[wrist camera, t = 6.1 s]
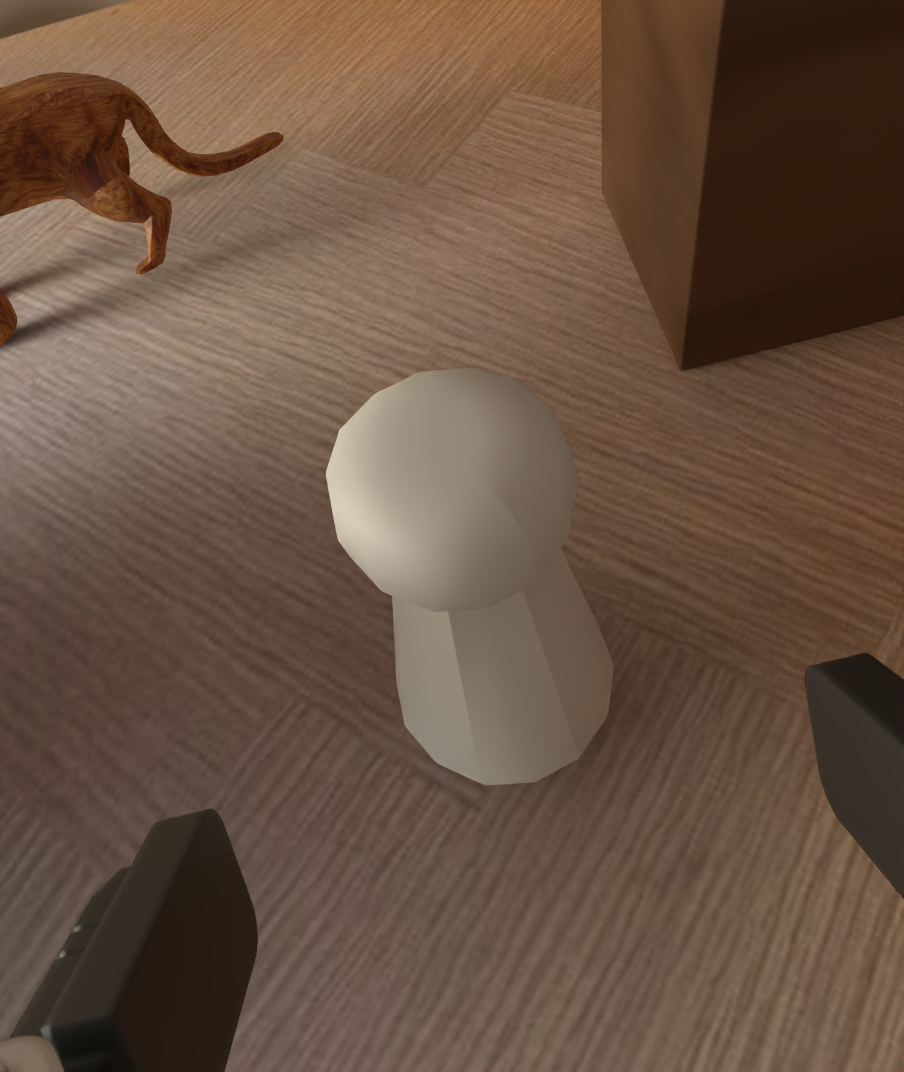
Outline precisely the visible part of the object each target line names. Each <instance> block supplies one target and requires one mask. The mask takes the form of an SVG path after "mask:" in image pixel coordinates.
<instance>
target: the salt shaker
mask: <svg viewBox="0 0 904 1072" xmlns="http://www.w3.org/2000/svg"><path fill="white" fill-rule="evenodd" d="M326 478H327V484H328V490H329V495H330V501H331V506H332V512H333V517H334V522H335V528H336V533H337V538H338V541H339V542H340V544H341V545H342V546H343V548H344V549H345V551H346V552H347V553H348V555H349V556H350V557H351V558H352V560H353V561H354V562H355V563H356V564H357V565H358V566H359V567H360V568H361V569H362V570H363V572H364V573H365V574H366V575H367V576H368V577H369V578H370V579H371V580H372V581H373V582H374V584H375V585H376V586H377V587H378V588H379V589H380V590H381V591H382V592H384V593H387V594H389V595H392V602H393V622H394V643H395V665H396V682H397V688H398V693H399V698H400V703H401V709H402V714H403V719H404V725H405V727H406V728H407V729H408V730H409V732H410V733H411V734H412V735H413V736H414V737H415V739H416V740H417V741H418V742H419V743H420V744H421V746H422V747H423V748H424V749H425V750H426V751H427V753H428V754H429V755H430V756H431V757H432V758H433V760H434V761H435V762H436V763H438V764H440V765H442V766H444V767H446V768H448V769H450V770H453V771H455V772H457V773H459V774H461V775H463V776H466V777H468V778H470V779H472V780H474V781H477V782H479V783H481V784H483V785H501V784H517V783H534V782H537V781H539V780H540V779H542V778H544V777H546V776H548V775H550V774H552V773H553V772H555V771H557V770H559V769H561V768H563V767H565V766H566V765H568V764H570V763H572V762H574V761H576V760H577V759H579V757H580V756H581V754H582V753H583V751H584V750H585V748H586V747H587V745H588V744H589V743H590V741H591V740H592V738H593V737H594V735H595V734H596V732H597V731H598V729H599V728H600V727H601V725H602V724H603V722H604V721H605V719H606V717H607V715H608V710H609V703H610V695H611V688H612V680H613V673H614V664H613V662H612V659H611V656H610V653H609V651H608V648H607V645H606V642H605V640H604V637H603V634H602V631H601V629H600V626H599V623H598V621H597V619H596V617H595V616H594V614H593V612H592V610H591V608H590V606H589V604H588V602H587V600H586V598H585V596H584V594H583V592H582V590H581V588H580V586H579V585H578V583H577V581H576V579H575V577H574V575H573V573H572V571H571V569H570V566H569V564H568V562H567V560H566V557H565V555H564V553H563V551H562V549H561V548H562V547H563V545H564V544H565V542H566V541H567V539H568V537H569V531H570V526H571V520H572V515H573V510H574V504H575V499H576V493H577V469H576V466H575V463H574V461H573V458H572V455H571V453H570V450H569V447H568V445H567V443H566V440H565V438H564V435H563V433H562V430H561V428H560V425H559V423H558V420H557V418H556V415H555V413H554V410H553V408H552V407H551V406H550V405H548V404H547V403H546V402H545V401H544V400H542V399H541V398H540V397H539V396H538V395H536V394H535V393H534V392H533V391H532V390H530V389H529V388H528V387H527V386H526V385H524V384H523V383H522V382H521V381H520V380H518V379H517V378H513V377H509V376H505V375H501V374H497V373H493V372H489V371H485V370H481V369H477V368H473V367H463V368H453V369H443V370H433V371H423V372H418V373H416V374H414V375H412V376H410V377H408V378H406V379H404V380H402V381H400V382H398V383H396V384H394V385H392V386H390V387H388V388H386V389H384V390H382V391H380V392H378V393H376V394H374V395H373V396H372V397H371V398H370V399H369V400H368V401H367V402H366V403H365V404H364V405H363V406H362V407H361V408H360V409H359V410H358V411H357V412H356V413H355V414H354V415H353V417H352V418H351V419H350V420H349V421H348V422H347V423H346V424H345V425H344V426H343V427H342V428H341V429H340V430H339V433H338V437H337V440H336V443H335V446H334V449H333V452H332V455H331V458H330V461H329V465H328V468H327V471H326Z"/></svg>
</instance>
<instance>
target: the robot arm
mask: <svg viewBox="0 0 904 1072" xmlns="http://www.w3.org/2000/svg"><path fill="white" fill-rule="evenodd" d="M805 687H806V693H807V700H808V706H809V712H810V718H811V725H812V731H813V737H814V744H815V750H816V756H817V762H818V769H819V774H820V778H821V782H822V785H823V788H824V791H825V794H826V797H827V799H828V801H829V803H830V806H831V808H832V810H833V811H834V813H835V815H836V816H837V818H838V819H839V821H840V822H841V823H842V825H843V826H844V827H845V828H846V830H847V831H848V832H849V833H850V834H851V836H852V837H853V838H854V839H855V840H856V842H857V843H858V844H859V845H860V847H861V848H862V849H863V850H864V851H865V853H866V854H867V855H868V856H869V857H870V859H871V860H872V861H873V862H874V864H875V865H876V866H877V867H878V868H879V870H880V871H881V872H882V873H883V874H884V876H885V877H886V878H887V879H888V881H889V882H890V883H891V884H892V885H893V887H894V888H895V889H896V890H897V891H898V893H899V894H900V895H901V896H902V898H903V899H904V679H902V678H901V677H900V676H898V675H897V674H896V673H894V672H893V671H892V670H890V669H889V668H888V667H886V666H885V665H884V664H882V663H881V662H880V661H878V660H877V659H876V658H874V657H873V656H871V655H870V654H868V653H861V654H857V655H853V656H849V657H845V658H841V659H836V660H832V661H828V662H824V663H820V664H816V665H811V666H809V667H807V669H806V672H805ZM74 930H75V932H74V933H71V934H70V935H69V937H68V939H67V940H66V942H65V944H64V945H63V947H62V949H61V951H60V952H59V954H60V958H59V959H55V961H54V962H53V964H52V966H51V968H50V969H49V971H48V973H47V974H46V976H45V978H44V980H43V981H42V983H41V985H40V986H39V988H38V990H37V991H36V993H35V995H34V997H33V998H32V1000H31V1002H30V1003H29V1005H28V1007H27V1008H26V1010H25V1012H24V1014H23V1015H22V1017H21V1019H20V1020H19V1022H18V1024H17V1025H16V1027H15V1029H14V1031H13V1032H12V1034H11V1036H10V1037H9V1039H7V1040H3V1041H1V1042H0V1072H225V1068H226V1064H227V1061H228V1057H229V1053H230V1050H231V1046H232V1042H233V1039H234V1035H235V1031H236V1028H237V1024H238V1020H239V1017H240V1013H241V1009H242V1006H243V1002H244V998H245V995H246V991H247V988H248V984H249V980H250V977H251V973H252V969H253V966H254V962H255V958H256V954H257V944H258V933H257V922H256V916H255V911H254V907H253V904H252V901H251V898H250V895H249V893H248V890H247V887H246V884H245V881H244V879H243V876H242V873H241V870H240V867H239V865H238V862H237V859H236V856H235V853H234V851H233V848H232V845H231V842H230V839H229V837H228V834H227V831H226V828H225V826H224V823H223V821H222V819H221V817H220V815H219V814H218V813H217V812H216V811H215V810H213V809H207V810H203V811H199V812H194V813H190V814H186V815H182V816H178V817H174V818H169V819H165V820H161V821H158V822H156V823H155V824H154V825H153V827H152V828H151V830H150V832H149V834H148V835H147V837H146V839H145V841H144V843H143V845H142V846H141V848H140V850H139V852H138V854H137V855H136V857H135V859H134V861H133V863H132V865H131V866H129V867H125V868H122V869H121V870H120V871H118V872H117V873H116V874H115V875H114V876H113V877H112V878H111V879H110V880H109V881H108V882H107V883H106V884H105V885H104V886H103V887H102V888H101V889H100V890H99V891H98V892H97V893H96V894H95V895H94V896H93V897H92V898H91V900H90V901H89V903H88V905H87V906H86V908H85V910H84V911H83V913H82V915H81V917H80V918H79V920H78V922H77V923H76V925H75V927H74Z"/></svg>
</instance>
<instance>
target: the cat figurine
mask: <svg viewBox="0 0 904 1072" xmlns="http://www.w3.org/2000/svg"><path fill="white" fill-rule="evenodd" d="M126 119H128V120H130V121H131V123H132V125H133V127H134V129H135V130H136V132H137V133H138V135H139V137H140V138H141V140H142V141H143V142H144V143H145V145H146V146H147V147H148V148H149V149H150V150H151V152H152V153H153V154H155V155H156V156H157V157H158V158H159V159H161V160H162V161H163V162H165V163H166V164H168V165H170V166H171V167H173V168H175V169H176V170H179V171H181V172H183V173H186V174H189V175H195V176H213V175H219V174H222V173H226V172H229V171H232V170H235V169H237V168H239V167H241V166H243V165H245V164H247V163H249V162H251V161H252V160H254V159H256V158H258V157H259V156H261V155H263V154H265V153H267V152H268V151H270V150H272V149H274V148H275V147H277V146H278V145H280V144H281V142H282V141H283V135H281V134H280V133H278V132H272V133H269V134H265V135H263V136H261V137H258V138H256V139H254V140H252V141H250V142H248V143H246V144H244V145H242V146H240V147H238V148H235V149H233V150H230V151H227V152H222V153H216V154H194V153H189V152H187V151H186V150H184V149H182V148H180V147H179V146H178V145H177V144H176V143H174V142H173V141H172V140H171V139H170V138H169V137H168V135H167V134H166V133H165V132H164V130H163V129H162V127H161V125H160V123H159V122H158V120H157V119H156V117H155V115H154V114H153V112H152V111H151V109H150V108H149V106H148V105H147V104H146V103H145V102H144V101H143V100H142V99H141V98H140V97H139V96H138V95H137V94H136V93H135V92H134V91H132V90H131V89H129V88H127V87H126V86H124V85H122V84H121V83H119V82H117V81H114V80H110V79H107V78H104V77H100V76H96V75H88V74H81V73H60V72H59V73H50V74H42V75H39V76H36V77H32V78H29V79H26V80H23V81H21V82H18V83H15V84H12V85H9V86H6V87H3V88H0V217H1V216H4V215H7V214H10V213H13V212H16V211H19V210H22V209H25V208H28V207H31V206H34V205H37V204H41V203H44V202H47V201H51V200H54V199H72V200H75V201H76V202H77V203H79V204H80V205H81V206H83V207H85V208H87V209H89V210H90V211H92V212H94V213H96V214H98V215H100V216H103V217H106V218H109V219H111V220H114V221H121V222H134V223H143V225H144V226H145V228H146V230H147V251H148V255H149V257H147V258H146V259H145V260H144V261H142V262H141V263H140V264H139V265H138V267H137V269H136V273H137V274H143V273H145V272H148V271H150V270H152V269H154V268H156V267H158V266H159V265H161V264H162V263H163V261H164V258H165V249H166V243H167V238H168V233H169V227H170V221H171V213H172V208H171V202H170V201H169V200H168V199H167V198H165V197H162V196H158V195H156V194H154V193H152V192H150V191H148V190H147V189H145V188H143V187H142V186H140V185H138V184H137V183H136V182H135V181H133V180H132V179H131V178H130V177H129V174H130V165H129V153H128V147H127V144H126V142H125V139H124V138H123V137H122V133H123V129H124V124H125V120H126ZM16 325H17V316H16V313H15V311H14V309H13V307H12V305H11V303H10V301H9V300H8V298H7V297H6V296H5V294H4V293H3V291H2V290H1V289H0V346H2V345H3V344H4V343H6V342H7V341H8V340H9V338H10V337H11V336H12V334H13V332H14V331H15V328H16Z"/></svg>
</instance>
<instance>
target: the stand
mask: <svg viewBox="0 0 904 1072" xmlns="http://www.w3.org/2000/svg"><path fill="white" fill-rule="evenodd" d="M601 37H602V193H603V195H604V197H605V200H606V202H607V204H608V206H609V209H610V211H611V213H612V216H613V218H614V220H615V222H616V225H617V227H618V229H619V231H620V234H621V236H622V238H623V240H624V243H625V245H626V247H627V250H628V252H629V254H630V256H631V259H632V261H633V263H634V265H635V268H636V270H637V272H638V274H639V277H640V279H641V281H642V283H643V286H644V288H645V290H646V293H647V295H648V297H649V299H650V302H651V304H652V306H653V308H654V311H655V313H656V315H657V317H658V320H659V322H660V324H661V326H662V329H663V331H664V333H665V336H666V338H667V340H668V342H669V345H670V347H671V349H672V351H673V354H674V356H675V358H676V360H677V363H678V365H679V367H680V369H681V370H685V369H689V368H693V367H697V366H701V365H705V364H709V363H713V362H717V361H721V360H725V359H729V358H733V357H737V356H741V355H745V354H749V353H753V352H757V351H761V350H765V349H769V348H773V347H777V346H781V345H785V344H789V343H793V342H797V341H801V340H805V339H809V338H813V337H817V336H821V335H824V334H828V333H832V332H836V331H840V330H844V329H848V328H852V327H856V326H860V325H864V324H868V323H872V322H876V321H880V320H884V319H888V318H892V317H896V316H900V315H904V0H601Z"/></svg>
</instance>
